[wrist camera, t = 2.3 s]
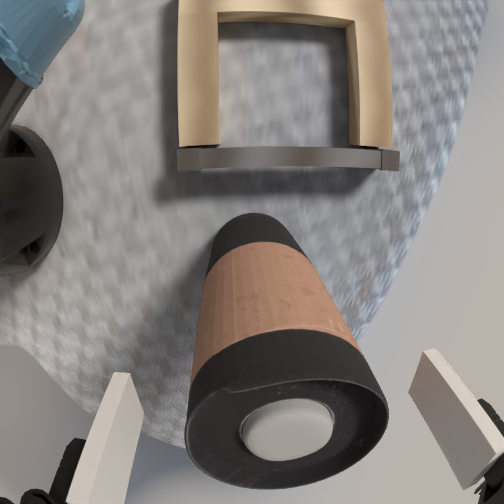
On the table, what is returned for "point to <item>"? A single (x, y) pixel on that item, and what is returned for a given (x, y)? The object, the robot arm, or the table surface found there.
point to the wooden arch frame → (300, 12)
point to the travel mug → (275, 368)
